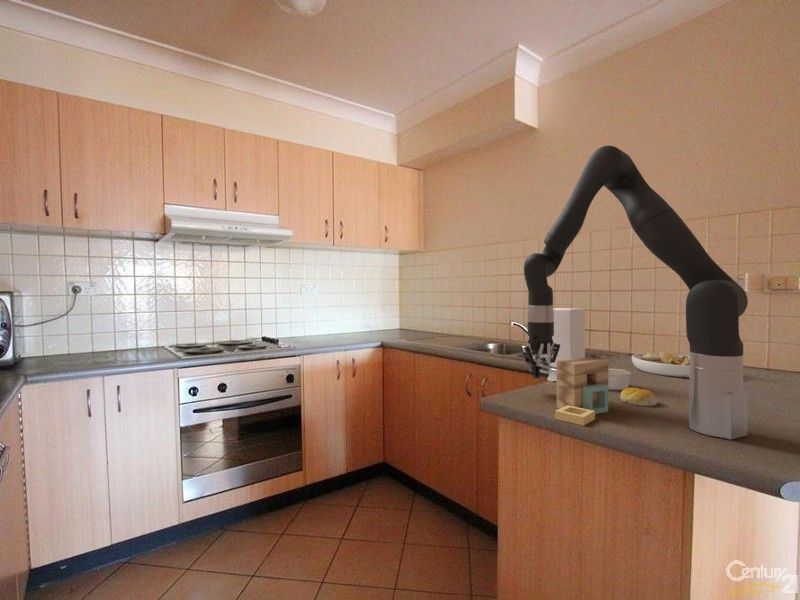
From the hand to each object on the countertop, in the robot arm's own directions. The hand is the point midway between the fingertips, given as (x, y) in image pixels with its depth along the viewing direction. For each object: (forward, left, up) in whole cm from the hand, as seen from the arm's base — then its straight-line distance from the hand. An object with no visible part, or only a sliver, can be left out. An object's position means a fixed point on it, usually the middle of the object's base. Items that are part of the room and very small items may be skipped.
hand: (540, 377), depth 120 cm
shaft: (-6, 0, +1) cm, 6 cm away
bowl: (+5, -71, -6) cm, 71 cm away
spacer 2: (-20, 0, -5) cm, 20 cm away
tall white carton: (+10, -20, -5) cm, 23 cm away
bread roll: (-18, -19, -6) cm, 26 cm away
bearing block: (-15, 0, -5) cm, 16 cm away
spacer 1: (-21, +9, -5) cm, 24 cm away
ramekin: (-2, -27, -5) cm, 28 cm away
